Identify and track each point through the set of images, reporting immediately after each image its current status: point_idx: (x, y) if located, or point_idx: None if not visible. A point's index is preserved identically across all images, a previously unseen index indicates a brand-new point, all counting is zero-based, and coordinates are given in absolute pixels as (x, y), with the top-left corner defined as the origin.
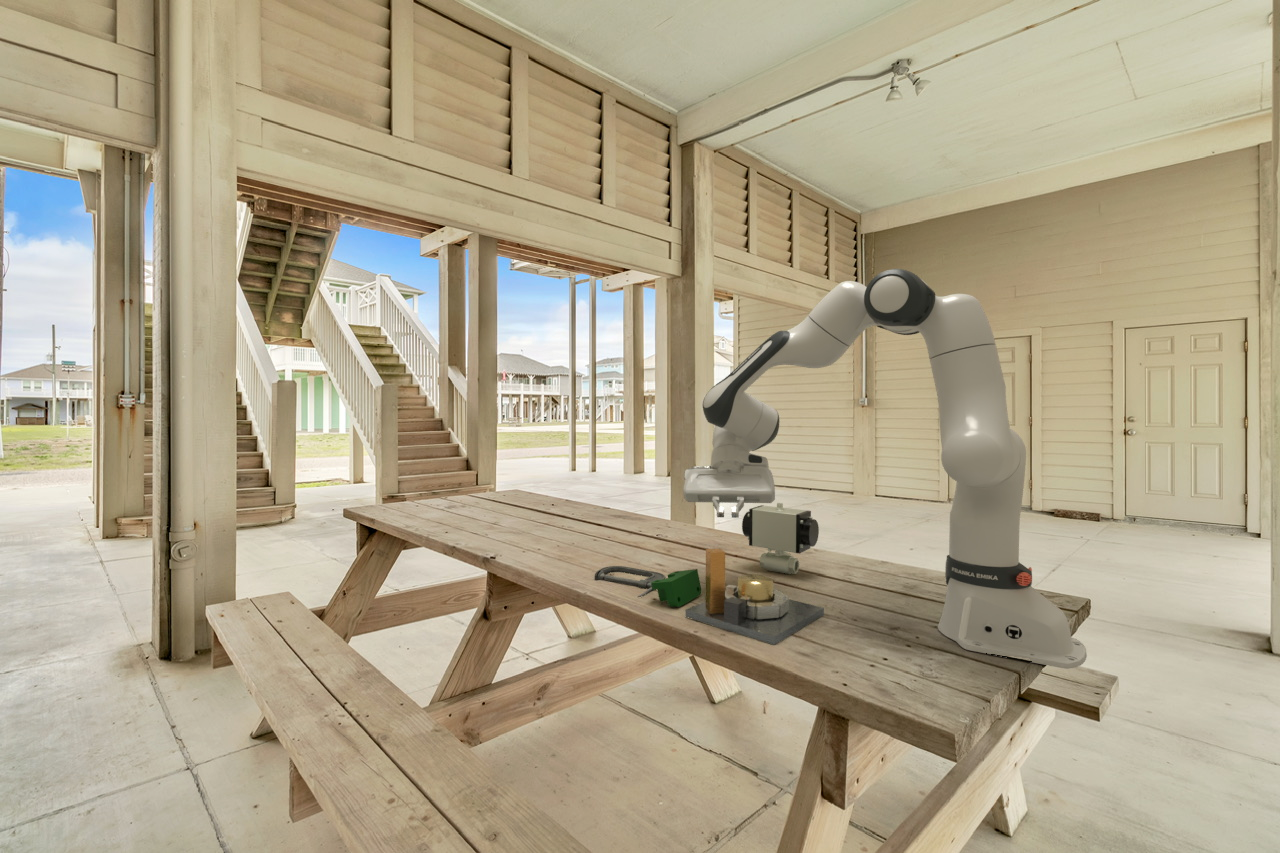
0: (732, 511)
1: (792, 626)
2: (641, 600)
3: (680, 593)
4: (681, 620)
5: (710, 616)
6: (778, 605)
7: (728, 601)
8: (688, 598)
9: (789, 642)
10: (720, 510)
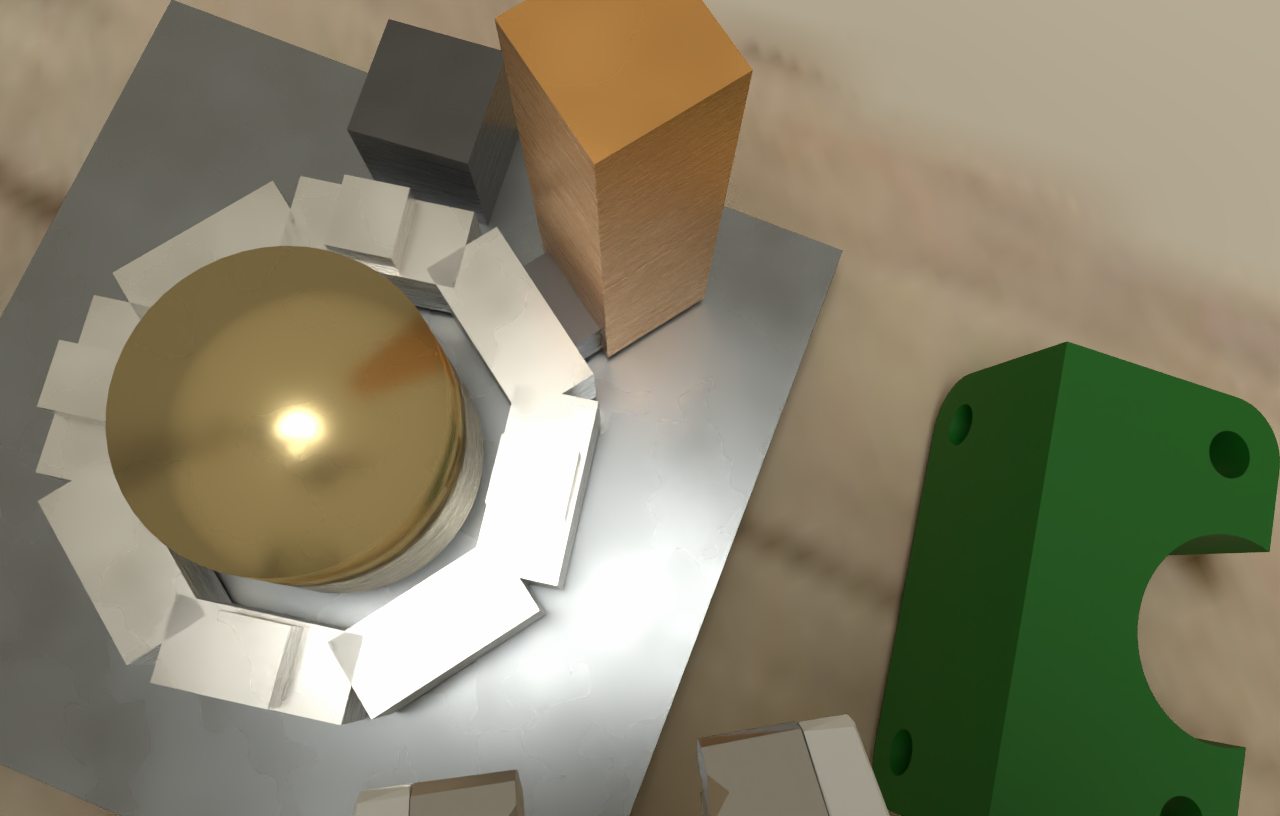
0: (492, 799)
1: (61, 209)
2: (1277, 492)
3: (974, 457)
4: (839, 207)
5: None
6: (117, 273)
7: (472, 50)
8: (920, 563)
9: (103, 99)
10: (782, 772)
